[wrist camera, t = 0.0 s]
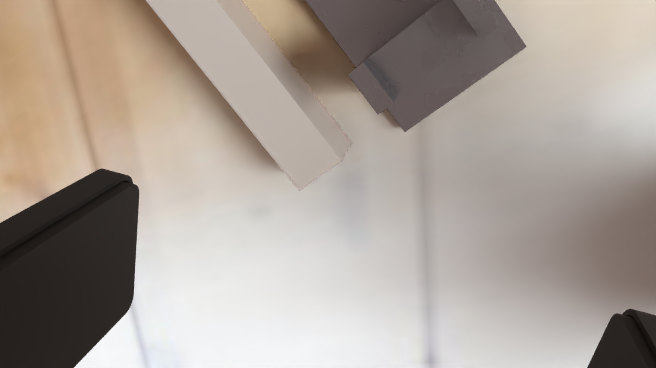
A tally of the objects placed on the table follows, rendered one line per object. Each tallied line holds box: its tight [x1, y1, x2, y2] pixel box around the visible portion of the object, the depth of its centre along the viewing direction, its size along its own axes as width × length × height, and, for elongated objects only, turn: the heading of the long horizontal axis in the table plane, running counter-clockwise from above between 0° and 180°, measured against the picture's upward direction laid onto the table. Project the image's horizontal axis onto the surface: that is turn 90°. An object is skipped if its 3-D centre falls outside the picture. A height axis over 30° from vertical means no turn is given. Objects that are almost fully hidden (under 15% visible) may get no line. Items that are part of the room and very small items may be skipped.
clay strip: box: [146, 0, 352, 191], centre depth 39 cm, size 4×22×5 cm, turn 39°
